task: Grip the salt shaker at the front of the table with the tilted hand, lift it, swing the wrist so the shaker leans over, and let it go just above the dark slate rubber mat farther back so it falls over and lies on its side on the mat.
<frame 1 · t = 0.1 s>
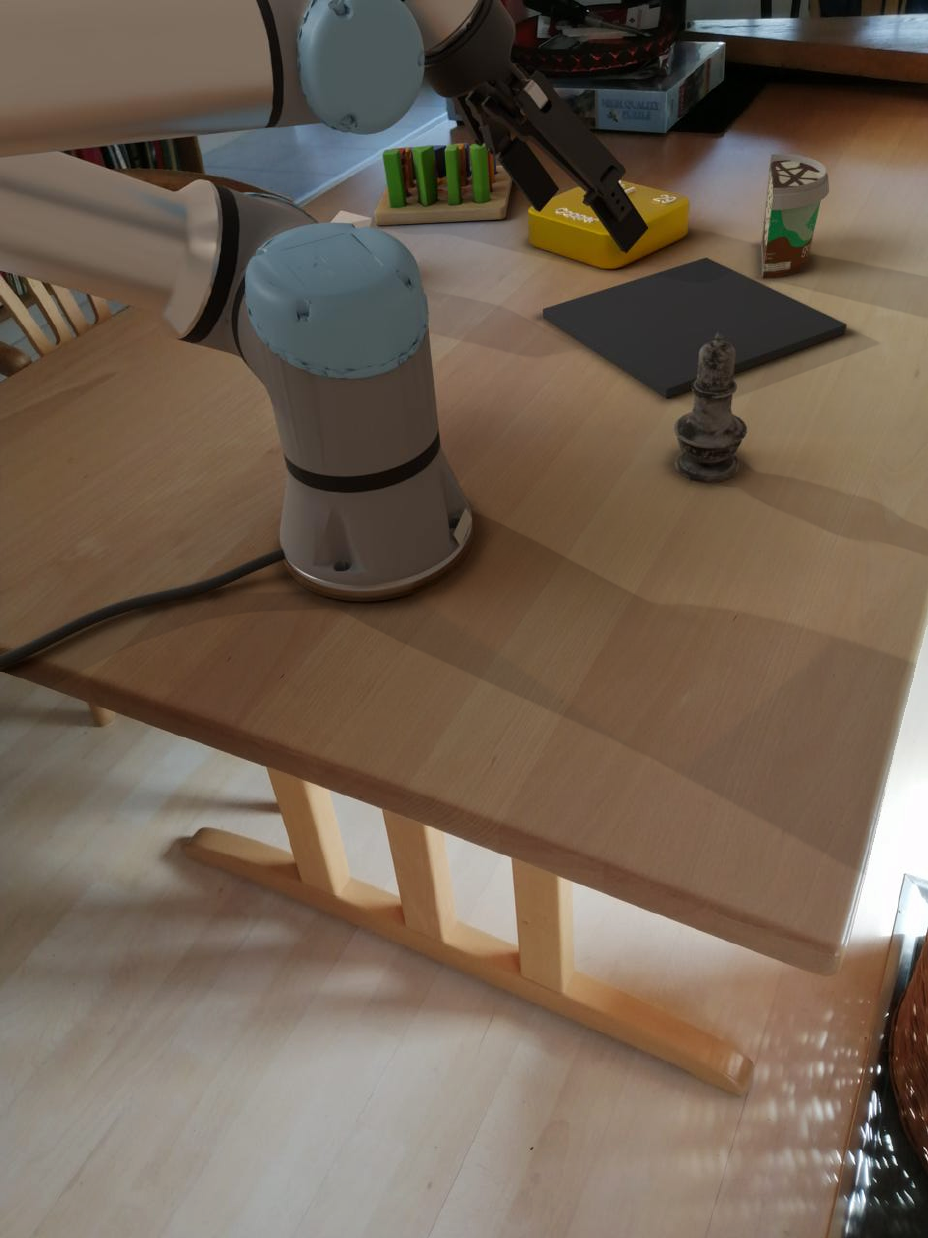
hand: (589, 218, 88), 15 cm above the table, tool tilted 35°, fingers open, 13 cm apart
salt shaker: (706, 466, 85), on the table
mat: (688, 325, 105), on the table
peg board: (447, 201, 139), on the table
food container: (789, 262, 115), on the table
element tile: (607, 240, 124), on the table
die: (357, 287, 119), on the table
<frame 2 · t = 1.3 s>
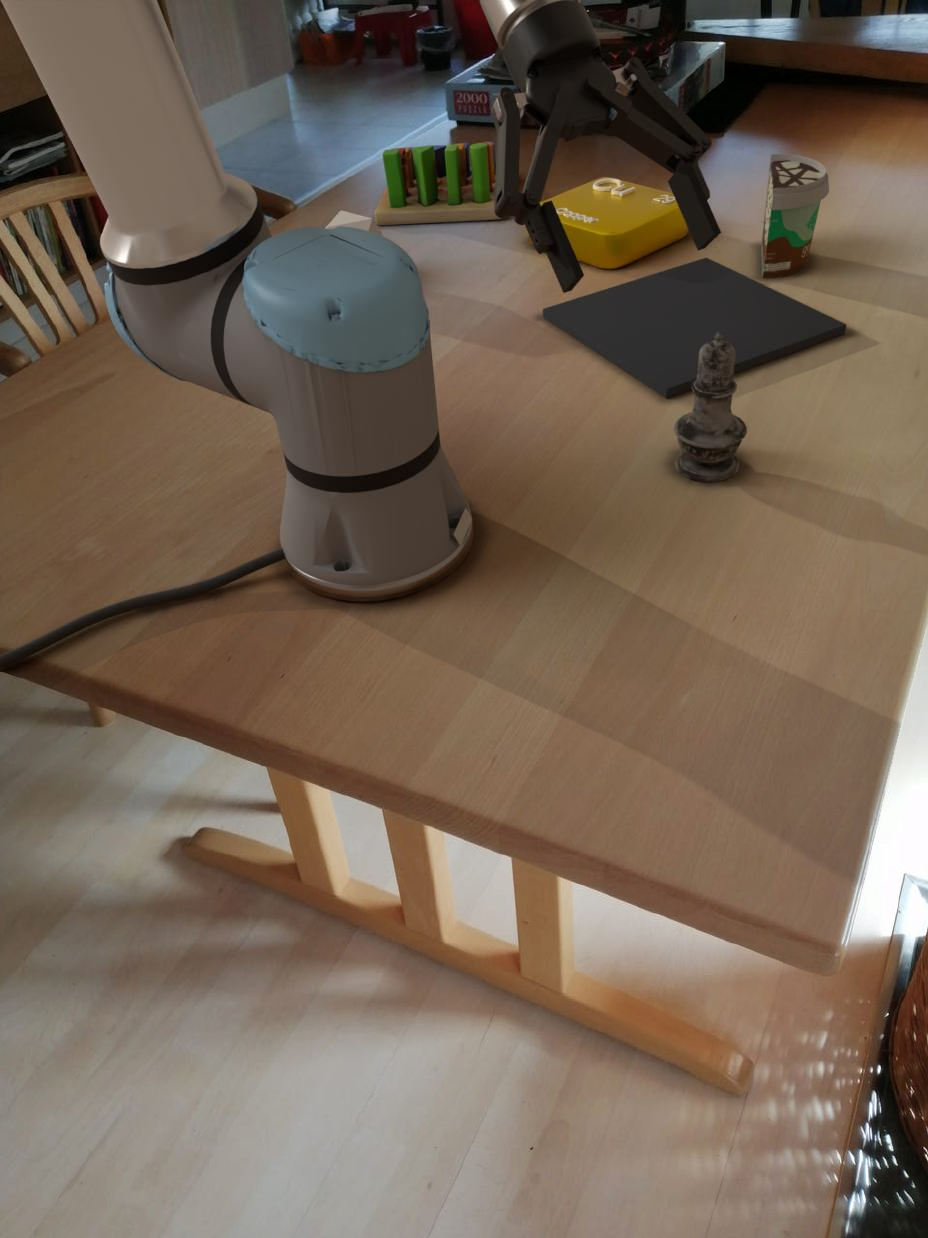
hand: (643, 262, 82), 14 cm above the table, tool tilted 45°, fingers open, 13 cm apart
nothing on the table moved.
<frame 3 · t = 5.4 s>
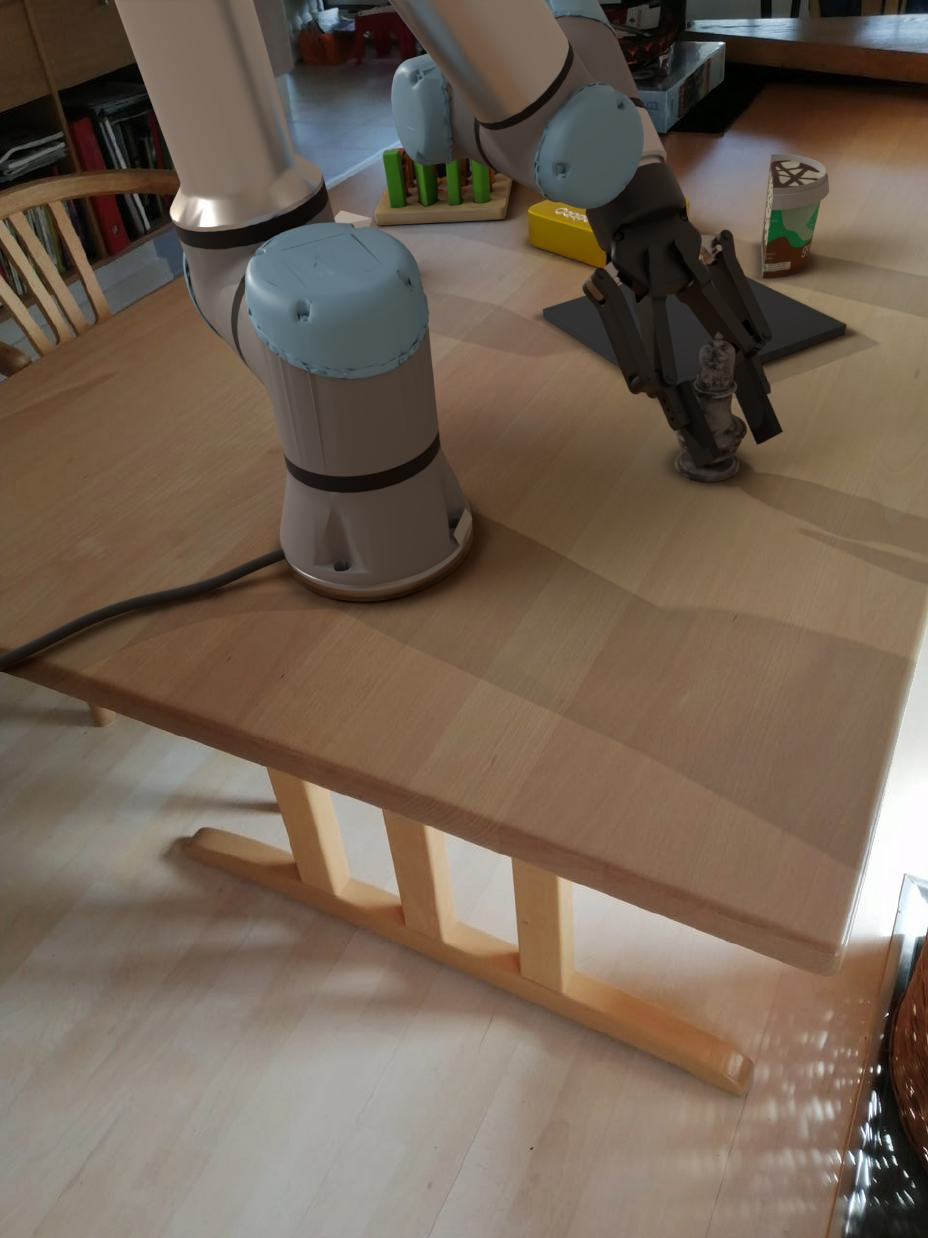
hand: (739, 449, 80), 3 cm above the table, tool tilted 45°, fingers closed on salt shaker, 5 cm apart
salt shaker: (706, 466, 85), on the table, touching gripper
everything else where it was.
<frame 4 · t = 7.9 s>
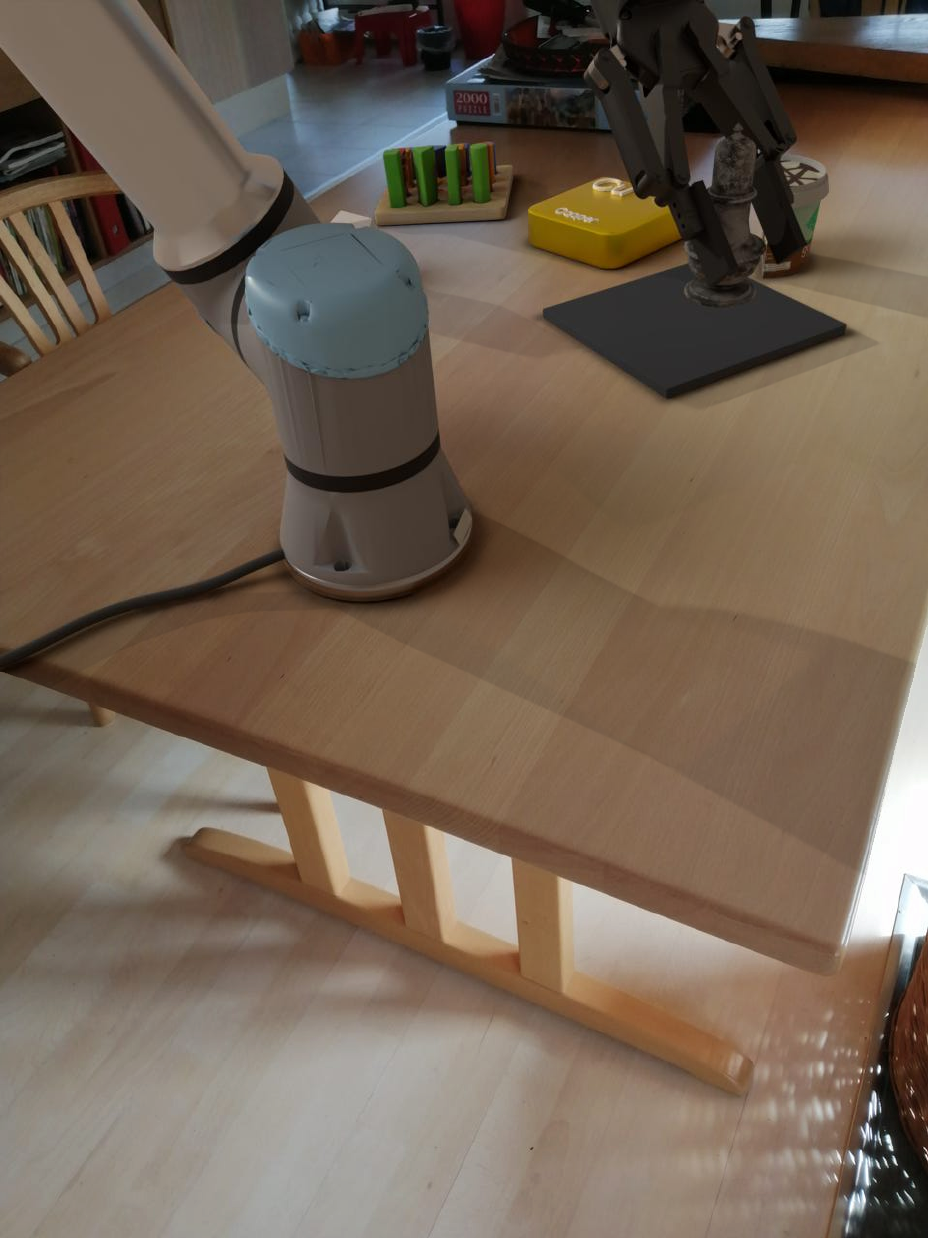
hand: (758, 265, 71), 18 cm above the table, tool tilted 45°, fingers closed on salt shaker, 5 cm apart
salt shaker: (719, 294, 76), point 15 cm above the table, touching gripper
everything else where it was.
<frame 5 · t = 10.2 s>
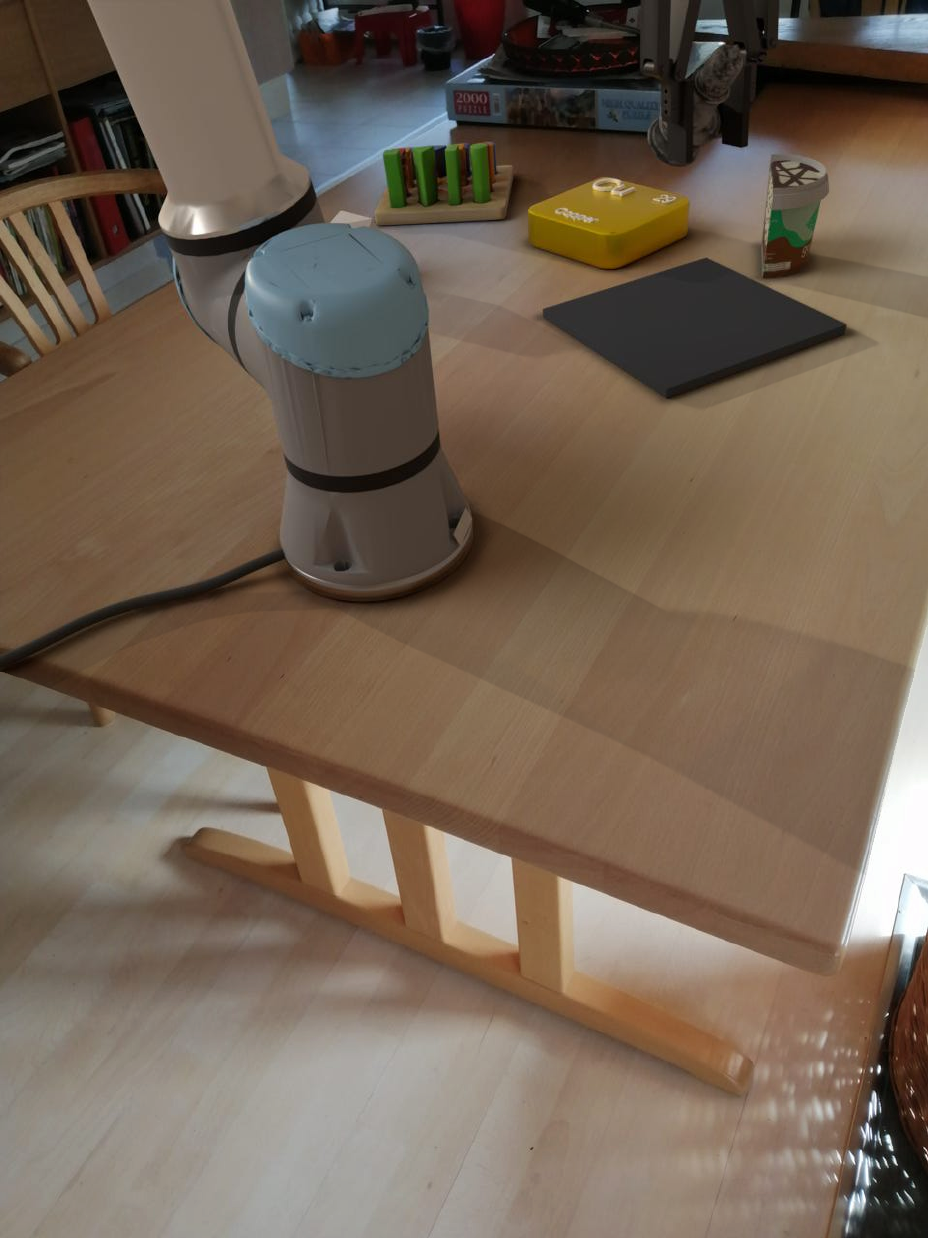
hand: (707, 151, 90), 18 cm above the table, tool pointing down, fingers closed on salt shaker, 5 cm apart
salt shaker: (672, 142, 94), point 18 cm above the table, touching gripper
everything else where it was.
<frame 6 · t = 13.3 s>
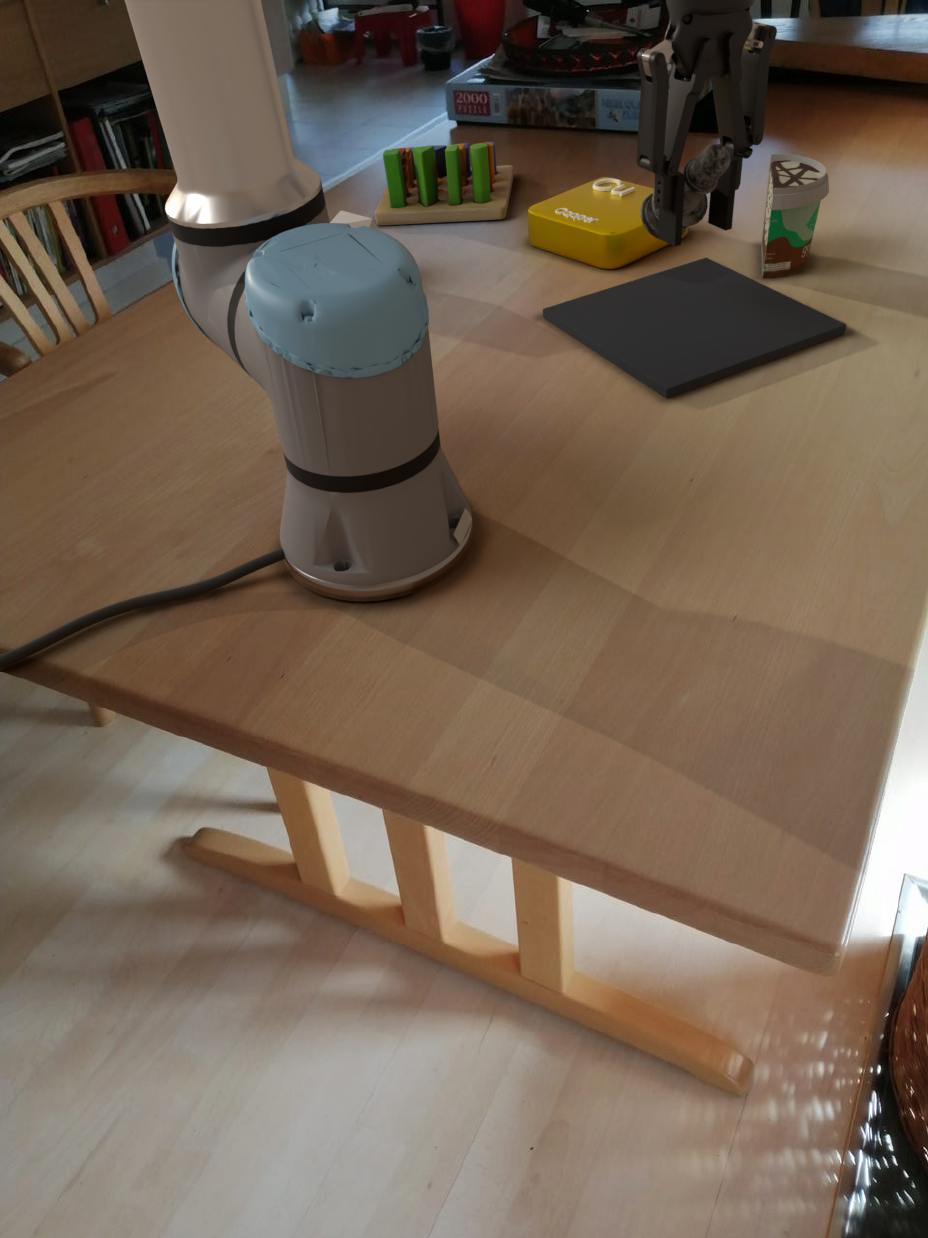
hand: (694, 232, 98), 10 cm above the table, tool pointing down, fingers closed on salt shaker, 5 cm apart
salt shaker: (663, 217, 102), point 10 cm above the table, touching gripper
everything else where it was.
when the fingers open (3 cm above the table, at t = 15.7 s): salt shaker moves 3 cm, resting on mat.
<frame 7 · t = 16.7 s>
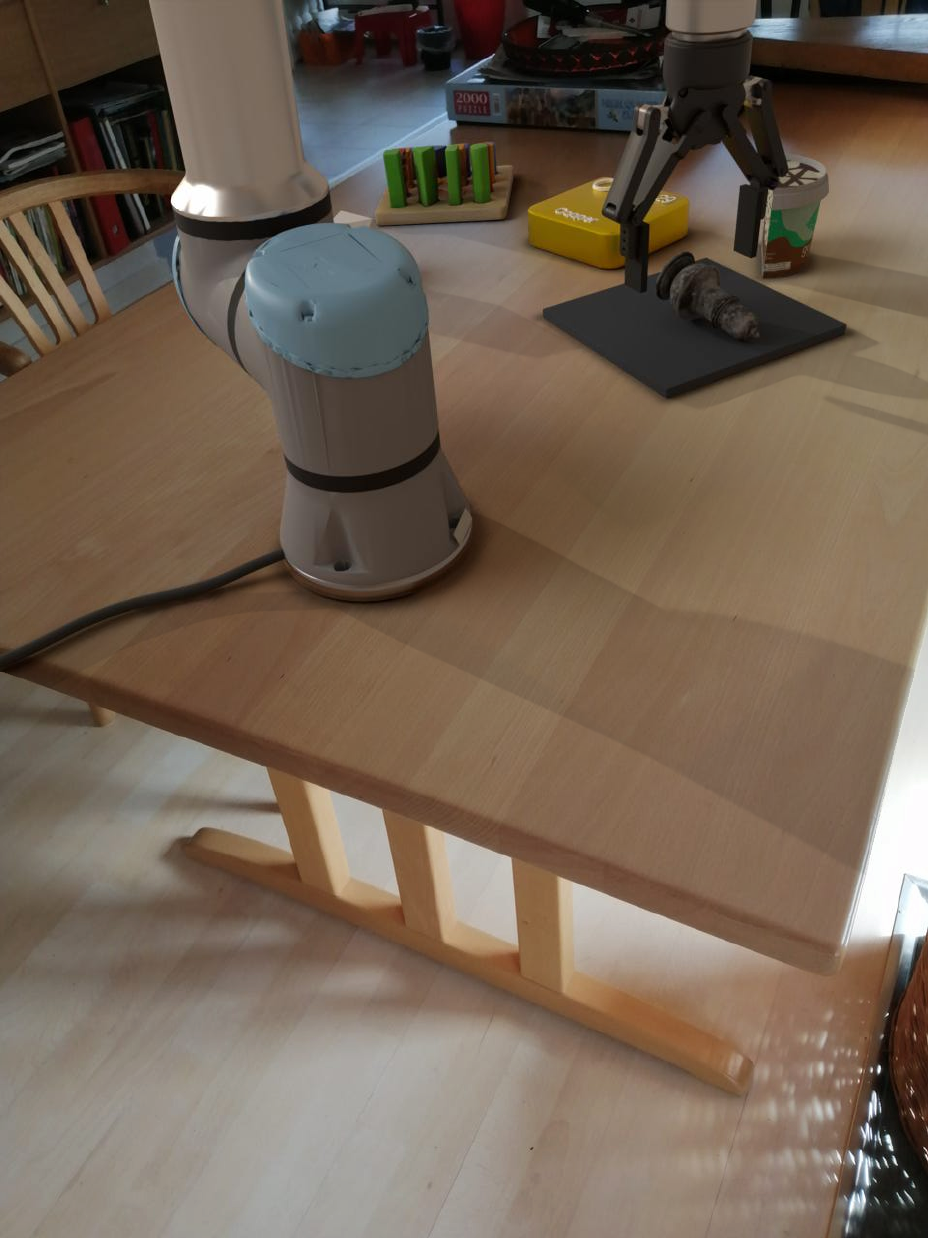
hand: (691, 270, 101), 6 cm above the table, tool pointing down, fingers open, 13 cm apart
salt shaker: (673, 274, 103), point 5 cm above the table, touching mat
everything else where it was.
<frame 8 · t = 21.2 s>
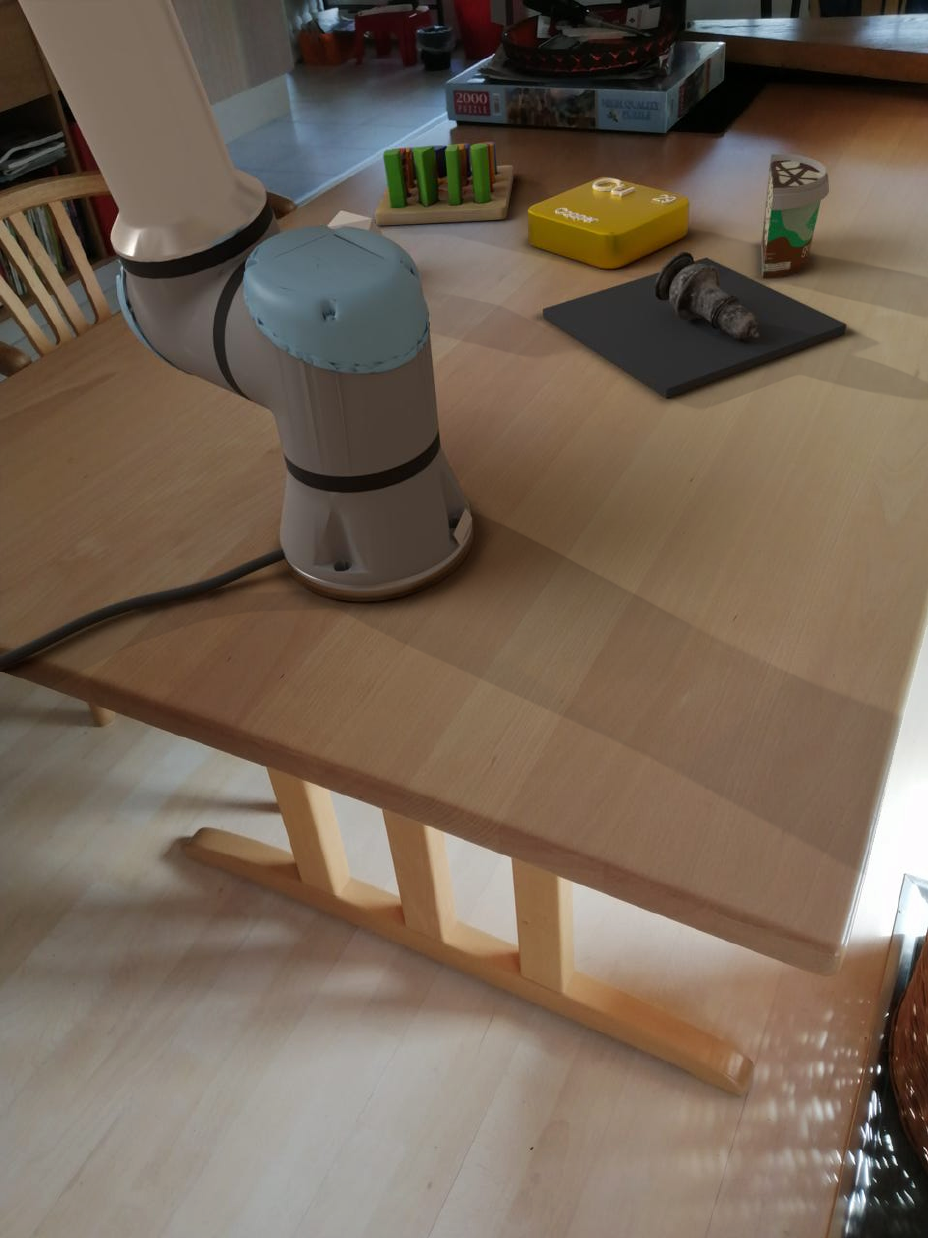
hand: (568, 10, 90), 29 cm above the table, tool pointing down, fingers open, 13 cm apart
nothing on the table moved.
at the end: salt shaker tilted 103°; salt shaker inside the target area on the mat (2.4 cm from its centre), point 4.7 cm above the mat's base; the gripper is holding nothing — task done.
